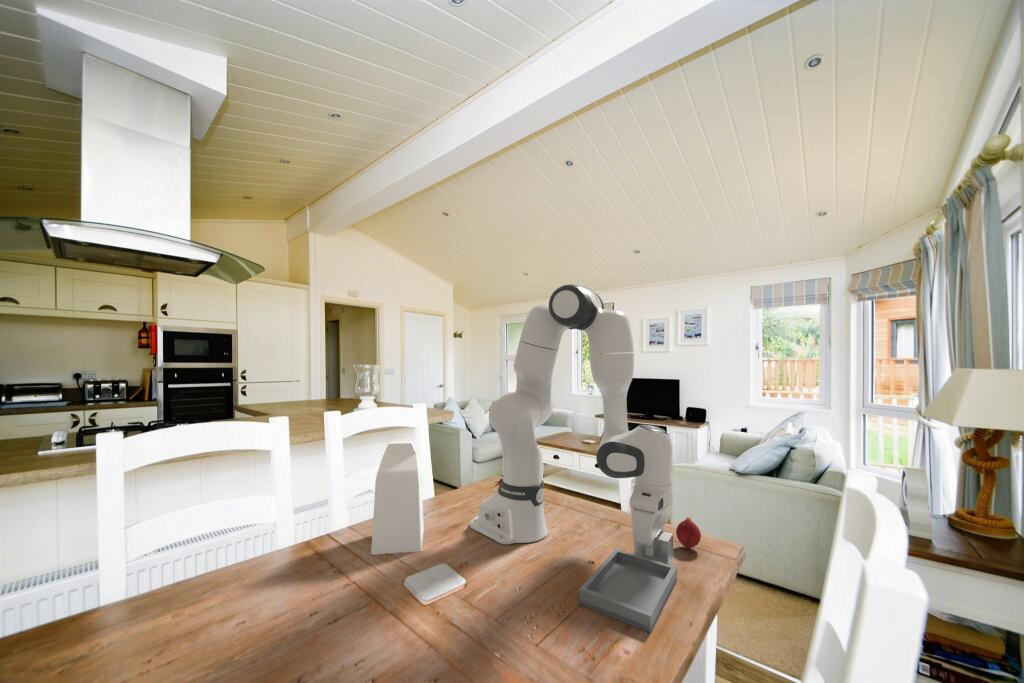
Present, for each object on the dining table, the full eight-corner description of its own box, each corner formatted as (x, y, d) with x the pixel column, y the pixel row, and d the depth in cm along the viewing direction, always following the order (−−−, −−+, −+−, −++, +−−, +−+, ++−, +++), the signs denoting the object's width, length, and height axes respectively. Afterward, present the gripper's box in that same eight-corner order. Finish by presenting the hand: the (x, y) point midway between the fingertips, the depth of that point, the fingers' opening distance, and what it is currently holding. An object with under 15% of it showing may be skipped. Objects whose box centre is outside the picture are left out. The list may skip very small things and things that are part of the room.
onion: (703, 555, 99) (703, 523, 99) (678, 552, 100) (678, 520, 100) (697, 544, 105) (697, 513, 105) (674, 542, 106) (674, 511, 106)
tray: (579, 604, 79) (579, 589, 80) (615, 561, 96) (615, 548, 96) (650, 633, 71) (650, 616, 72) (676, 580, 88) (676, 567, 88)
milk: (371, 554, 98) (372, 448, 99) (379, 533, 110) (380, 438, 110) (420, 551, 100) (422, 447, 101) (423, 530, 112) (424, 437, 112)
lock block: (634, 557, 98) (634, 532, 98) (640, 549, 102) (640, 525, 102) (667, 567, 93) (667, 541, 93) (673, 558, 97) (673, 533, 97)
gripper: (652, 478, 108) (652, 530, 108) (626, 502, 91) (627, 562, 91) (676, 483, 105) (677, 536, 104) (655, 508, 88) (655, 571, 88)
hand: (653, 549), depth 98 cm, fingers closed on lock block, 5 cm apart
